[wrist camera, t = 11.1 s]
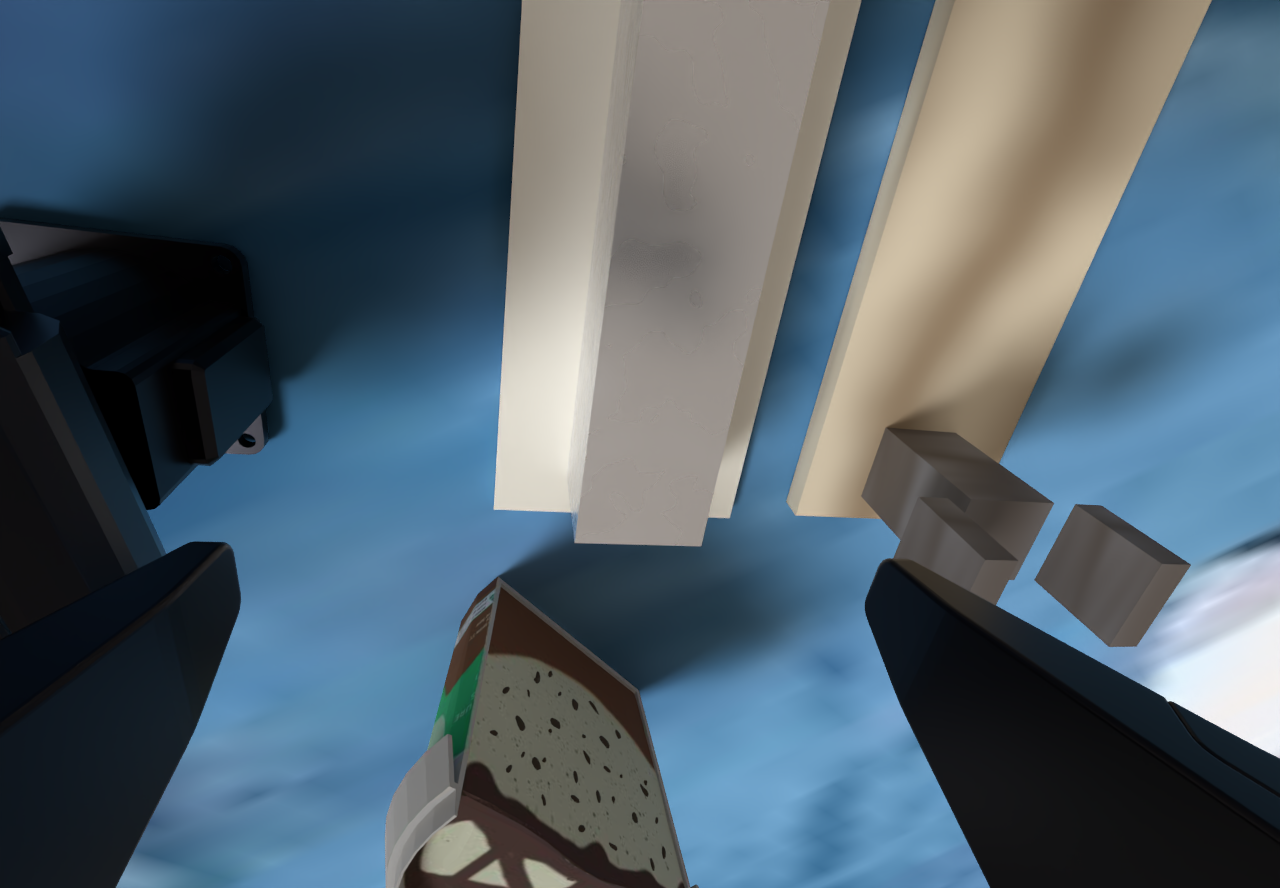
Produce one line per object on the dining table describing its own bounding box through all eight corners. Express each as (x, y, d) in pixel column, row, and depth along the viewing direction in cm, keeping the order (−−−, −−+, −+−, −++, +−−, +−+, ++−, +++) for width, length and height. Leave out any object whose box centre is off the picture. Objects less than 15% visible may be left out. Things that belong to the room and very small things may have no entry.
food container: (356, 641, 25) (263, 926, 16) (470, 554, 24) (438, 806, 15) (558, 771, 30) (571, 1034, 21) (657, 705, 29) (713, 953, 20)
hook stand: (786, 501, 25) (906, 675, 17) (1062, -424, 14) (1739, -1115, 6) (957, 509, 27) (1138, 671, 19) (1320, -312, 16) (2108, -743, 8)
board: (494, 500, 23) (493, 509, 22) (560, -688, 11) (562, -726, 11) (725, 509, 25) (729, 518, 24) (976, -500, 13) (995, -526, 13)
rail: (566, 476, 22) (574, 543, 19) (682, -538, 12) (746, -808, 9) (674, 481, 23) (701, 546, 19) (864, -461, 13) (990, -680, 9)
